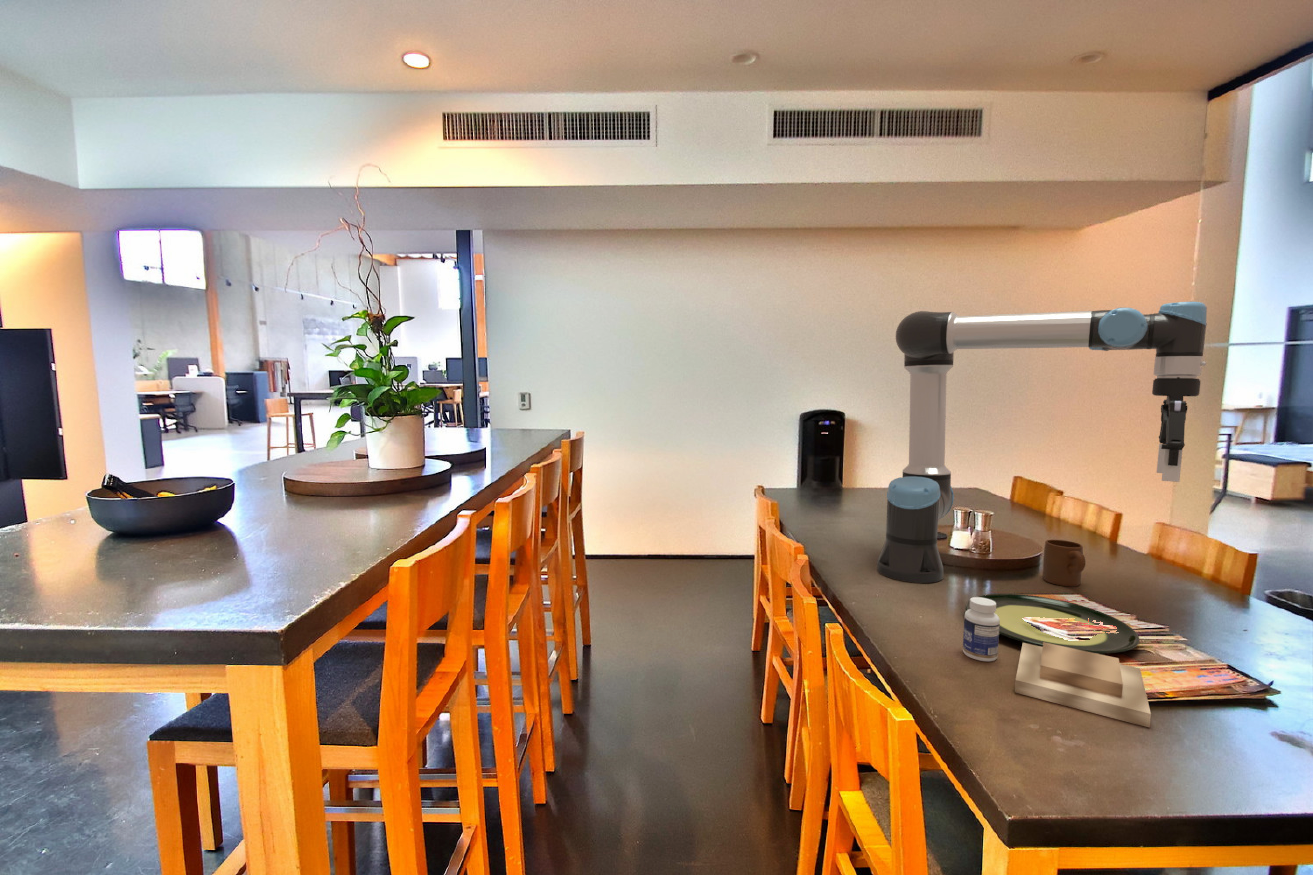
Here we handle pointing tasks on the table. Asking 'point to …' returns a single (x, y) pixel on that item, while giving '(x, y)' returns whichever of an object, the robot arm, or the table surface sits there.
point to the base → (1083, 696)
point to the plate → (1022, 606)
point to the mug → (1063, 562)
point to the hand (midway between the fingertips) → (1167, 477)
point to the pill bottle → (981, 630)
